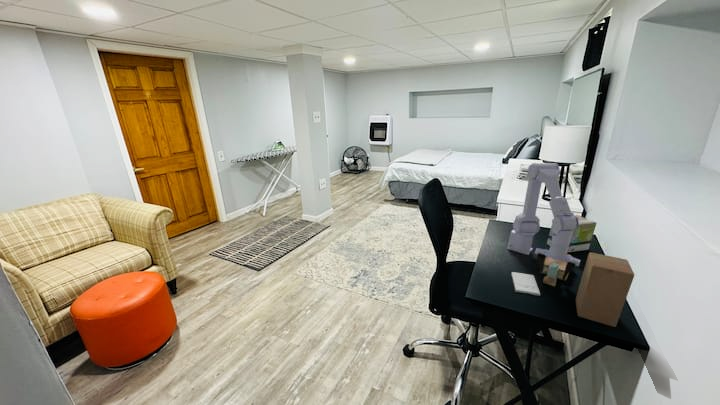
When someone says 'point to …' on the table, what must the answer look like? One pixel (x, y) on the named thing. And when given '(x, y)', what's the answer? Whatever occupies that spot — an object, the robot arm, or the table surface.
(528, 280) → the external hard drive
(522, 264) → the table surface
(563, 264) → the lid
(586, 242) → the tea box
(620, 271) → the wooden block
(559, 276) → the tan shallow box
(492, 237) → the table surface
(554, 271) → the teal stepped block
